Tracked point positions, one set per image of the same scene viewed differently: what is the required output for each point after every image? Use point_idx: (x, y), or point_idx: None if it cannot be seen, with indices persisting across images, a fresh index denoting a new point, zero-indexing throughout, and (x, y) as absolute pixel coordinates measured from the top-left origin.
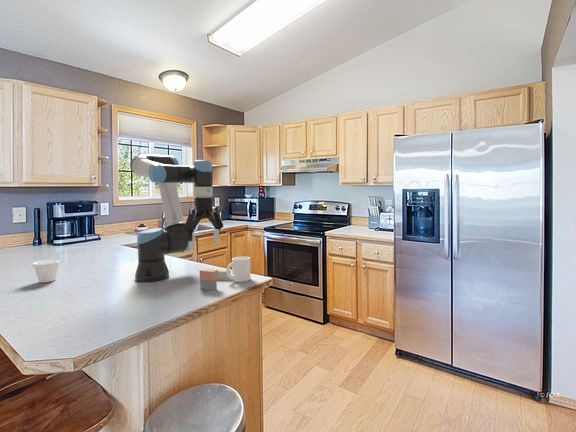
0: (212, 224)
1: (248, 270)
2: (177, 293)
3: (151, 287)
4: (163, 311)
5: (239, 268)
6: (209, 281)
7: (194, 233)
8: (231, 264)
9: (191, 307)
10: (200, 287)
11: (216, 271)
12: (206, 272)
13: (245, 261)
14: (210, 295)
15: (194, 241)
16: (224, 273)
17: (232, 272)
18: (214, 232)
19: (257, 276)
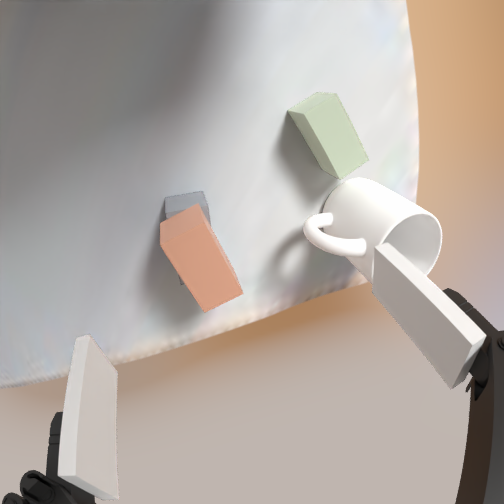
0: (493, 406)
1: None
2: (61, 211)
3: (5, 57)
4: (15, 337)
5: (355, 266)
6: None
7: (118, 497)
8: (346, 256)
9: None
10: (165, 200)
11: (230, 297)
12: (183, 279)
13: None
14: (160, 304)
15: (113, 426)
16: (327, 163)
17: (342, 211)
18: (442, 327)
19: None
